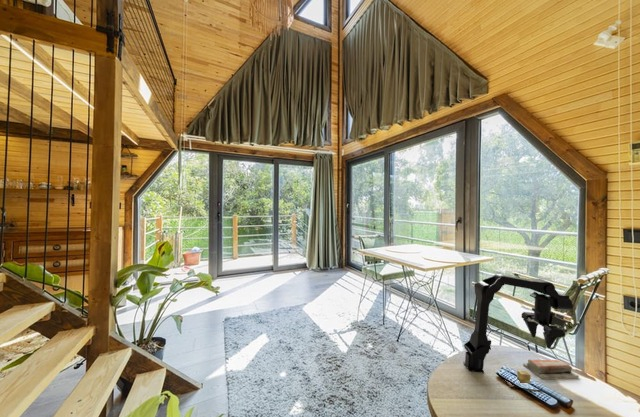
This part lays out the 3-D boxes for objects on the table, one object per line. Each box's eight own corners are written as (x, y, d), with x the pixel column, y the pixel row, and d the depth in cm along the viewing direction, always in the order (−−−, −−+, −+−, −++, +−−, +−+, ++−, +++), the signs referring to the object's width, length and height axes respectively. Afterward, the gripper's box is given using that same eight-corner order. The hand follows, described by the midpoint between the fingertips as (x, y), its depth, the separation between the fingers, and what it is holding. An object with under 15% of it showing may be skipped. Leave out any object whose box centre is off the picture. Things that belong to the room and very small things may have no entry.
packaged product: (542, 369, 115) (523, 356, 125) (542, 380, 115) (522, 366, 125) (579, 368, 117) (557, 355, 127) (579, 379, 117) (557, 365, 127)
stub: (509, 387, 109) (510, 373, 109) (505, 382, 112) (506, 369, 111) (541, 390, 108) (541, 376, 107) (536, 386, 110) (537, 372, 110)
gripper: (580, 318, 108) (578, 356, 108) (546, 301, 126) (544, 333, 127) (551, 316, 109) (549, 353, 109) (521, 300, 128) (519, 331, 128)
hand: (540, 342), depth 118 cm, fingers open, 9 cm apart
